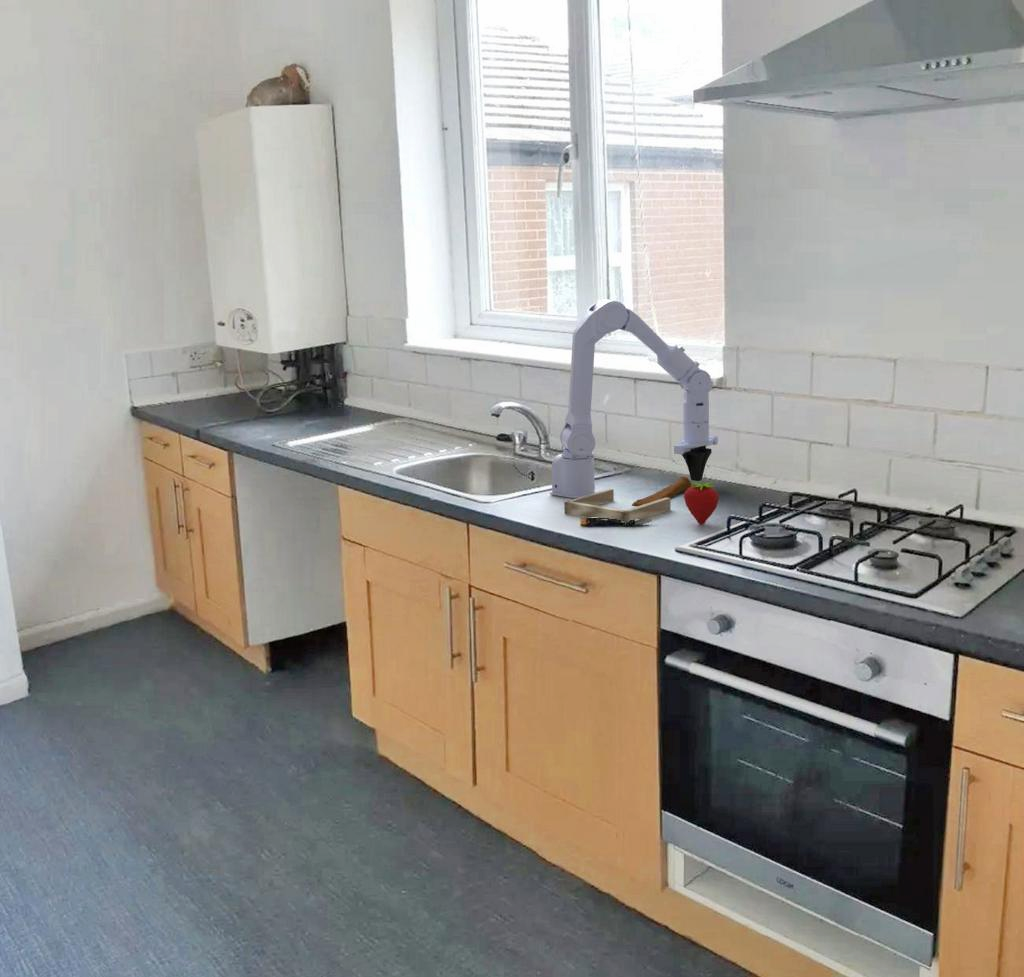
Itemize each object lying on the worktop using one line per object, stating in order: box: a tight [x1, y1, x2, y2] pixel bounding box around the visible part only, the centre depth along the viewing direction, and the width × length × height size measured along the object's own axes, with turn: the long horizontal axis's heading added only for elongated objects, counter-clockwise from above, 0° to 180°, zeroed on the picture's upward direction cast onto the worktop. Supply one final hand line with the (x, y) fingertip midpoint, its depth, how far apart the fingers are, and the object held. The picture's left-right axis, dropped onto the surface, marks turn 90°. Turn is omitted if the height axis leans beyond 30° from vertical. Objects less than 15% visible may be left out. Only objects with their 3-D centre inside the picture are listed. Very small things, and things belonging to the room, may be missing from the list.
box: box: [563, 488, 671, 525], centre depth 229 cm, size 16×15×2 cm
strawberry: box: [683, 474, 720, 525], centre depth 216 cm, size 6×8×10 cm
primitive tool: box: [631, 476, 692, 507], centre depth 240 cm, size 19×6×4 cm, turn 144°
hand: (696, 480), depth 250 cm, fingers closed
